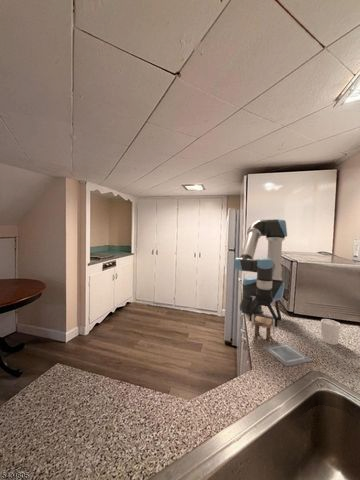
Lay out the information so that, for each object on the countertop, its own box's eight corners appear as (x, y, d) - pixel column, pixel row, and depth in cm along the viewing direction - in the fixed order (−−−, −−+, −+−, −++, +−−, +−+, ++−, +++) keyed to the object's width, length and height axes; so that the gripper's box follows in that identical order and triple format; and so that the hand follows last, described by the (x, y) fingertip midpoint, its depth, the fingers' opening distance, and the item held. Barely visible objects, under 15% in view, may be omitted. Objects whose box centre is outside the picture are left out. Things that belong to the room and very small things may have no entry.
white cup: (339, 347, 98) (340, 327, 98) (319, 342, 103) (320, 322, 102) (339, 340, 104) (340, 321, 104) (320, 335, 109) (321, 317, 109)
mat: (262, 347, 96) (262, 346, 96) (286, 343, 100) (286, 342, 100) (285, 366, 83) (286, 365, 83) (312, 361, 87) (312, 360, 87)
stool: (253, 337, 105) (253, 321, 105) (255, 331, 112) (256, 315, 112) (270, 342, 102) (270, 324, 101) (271, 335, 109) (272, 319, 108)
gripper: (240, 286, 108) (239, 327, 109) (288, 293, 97) (286, 338, 98) (243, 283, 115) (242, 322, 115) (288, 289, 104) (286, 332, 105)
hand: (262, 329), depth 107 cm, fingers open, 10 cm apart
